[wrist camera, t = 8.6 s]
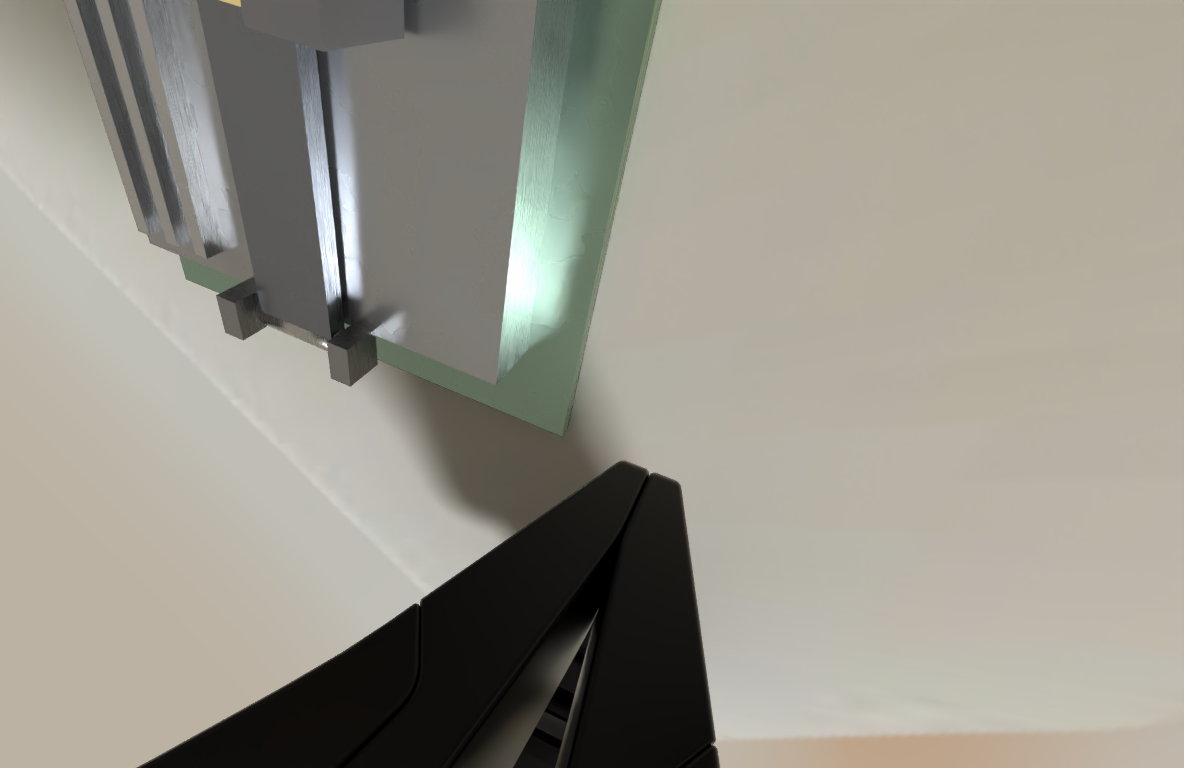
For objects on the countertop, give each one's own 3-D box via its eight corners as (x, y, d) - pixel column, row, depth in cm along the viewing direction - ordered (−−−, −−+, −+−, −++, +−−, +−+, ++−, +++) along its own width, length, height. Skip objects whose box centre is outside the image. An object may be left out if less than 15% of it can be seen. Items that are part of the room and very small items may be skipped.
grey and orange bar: (350, 346, 22) (328, 363, 21) (279, 316, 22) (253, 332, 21) (304, -130, 13) (262, -136, 12) (190, -159, 14) (143, -167, 13)
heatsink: (567, 427, 24) (517, 503, 21) (197, 273, 28) (102, 318, 24) (709, -218, 12) (648, -286, 9) (28, -353, 16) (-208, -441, 12)
